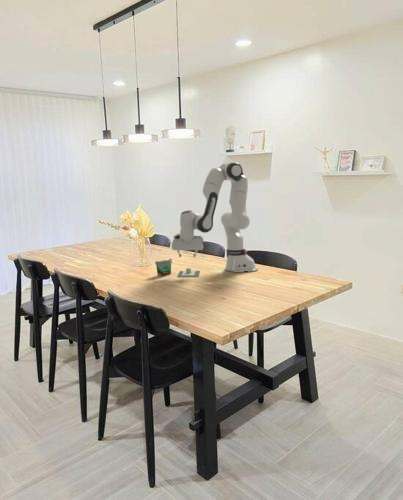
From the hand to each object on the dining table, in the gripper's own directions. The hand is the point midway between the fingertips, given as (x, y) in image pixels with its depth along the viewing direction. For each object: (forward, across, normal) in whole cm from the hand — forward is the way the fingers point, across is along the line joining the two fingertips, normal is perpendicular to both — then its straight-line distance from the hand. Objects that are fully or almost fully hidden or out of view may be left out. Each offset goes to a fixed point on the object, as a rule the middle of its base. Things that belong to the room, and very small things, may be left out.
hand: (187, 256), depth 259 cm
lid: (+12, -1, 0) cm, 12 cm away
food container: (+13, +14, 0) cm, 19 cm away
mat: (+12, -1, 0) cm, 12 cm away
